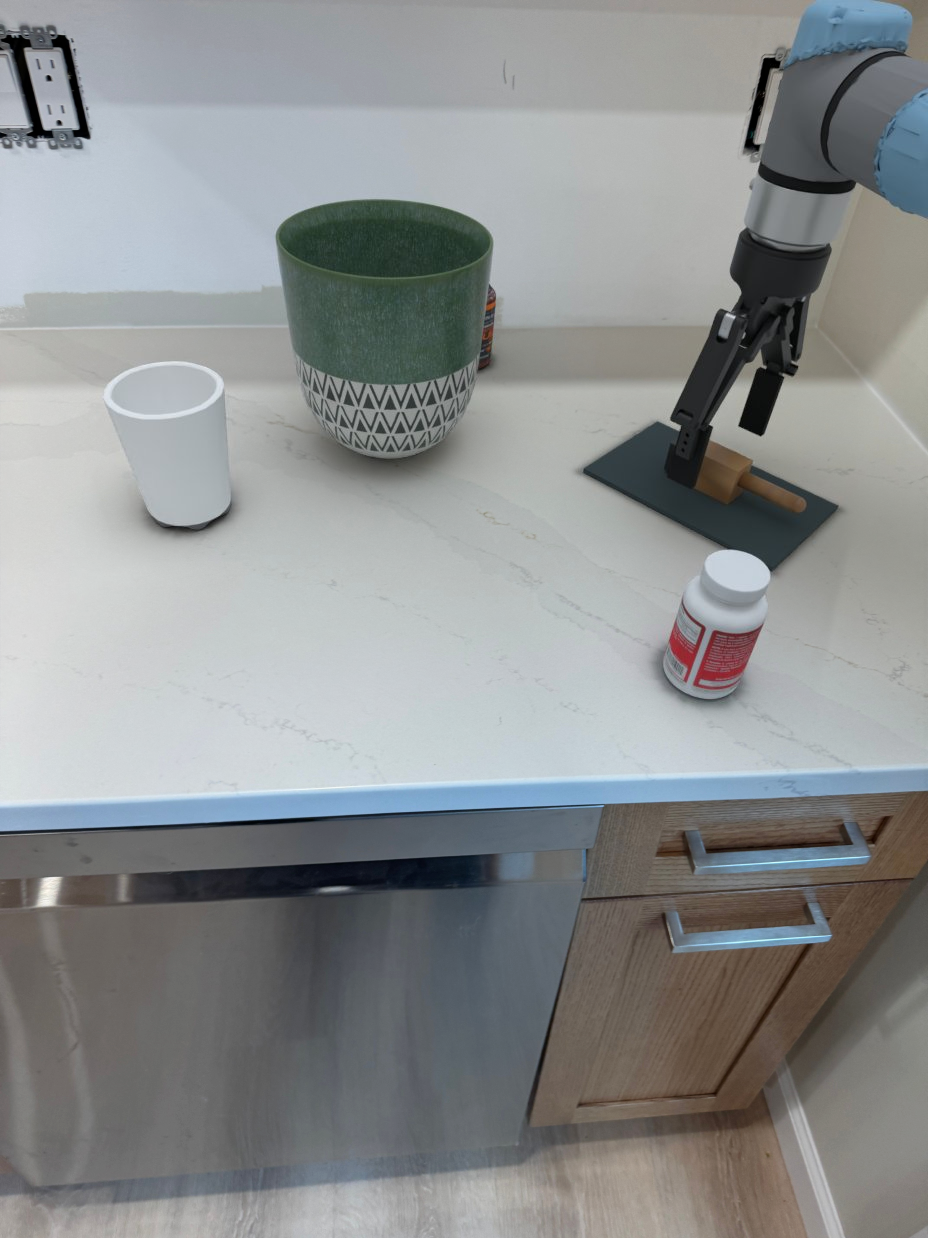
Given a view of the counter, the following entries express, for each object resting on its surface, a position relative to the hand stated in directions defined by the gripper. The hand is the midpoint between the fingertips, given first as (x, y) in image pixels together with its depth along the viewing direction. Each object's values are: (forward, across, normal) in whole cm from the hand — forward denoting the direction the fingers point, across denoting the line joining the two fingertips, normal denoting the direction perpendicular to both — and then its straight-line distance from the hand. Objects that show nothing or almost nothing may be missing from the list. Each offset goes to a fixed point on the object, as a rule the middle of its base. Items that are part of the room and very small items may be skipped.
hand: (717, 455), depth 82 cm
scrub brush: (+4, 0, +3) cm, 4 cm away
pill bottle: (+4, +23, +13) cm, 27 cm away
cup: (+4, +40, -33) cm, 52 cm away
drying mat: (+4, 0, 0) cm, 4 cm away
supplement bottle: (+5, -2, -36) cm, 36 cm away
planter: (+4, +18, -29) cm, 34 cm away
